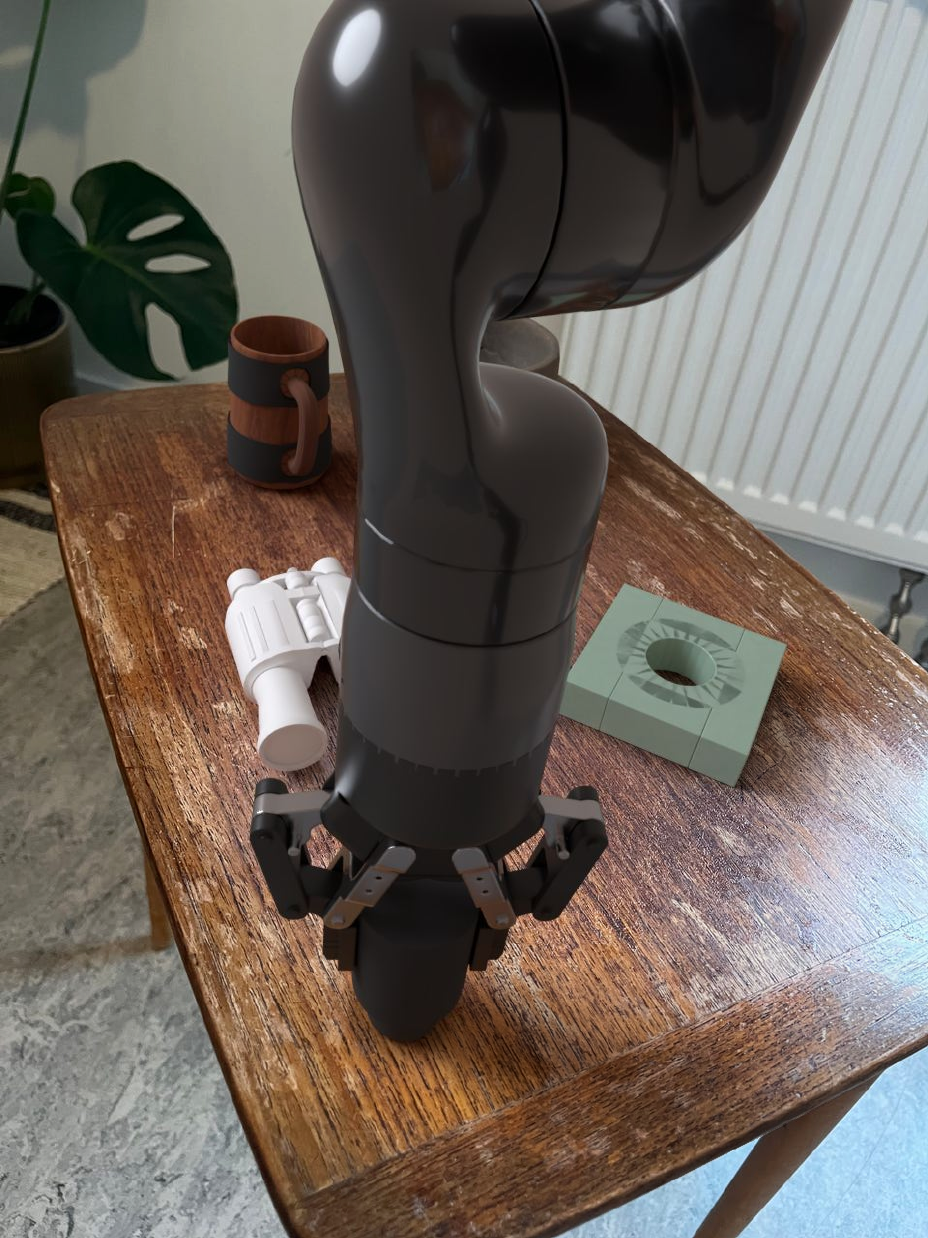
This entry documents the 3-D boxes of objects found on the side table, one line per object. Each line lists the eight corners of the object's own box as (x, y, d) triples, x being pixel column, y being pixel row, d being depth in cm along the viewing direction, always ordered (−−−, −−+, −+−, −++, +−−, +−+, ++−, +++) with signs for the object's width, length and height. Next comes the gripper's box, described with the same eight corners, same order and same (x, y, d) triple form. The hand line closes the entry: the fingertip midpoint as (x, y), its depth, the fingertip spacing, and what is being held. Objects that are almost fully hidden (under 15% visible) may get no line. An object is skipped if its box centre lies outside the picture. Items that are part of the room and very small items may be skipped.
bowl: (470, 376, 99) (482, 280, 92) (583, 459, 89) (605, 357, 82) (321, 408, 90) (324, 305, 84) (428, 504, 80) (440, 394, 73)
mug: (258, 523, 75) (255, 386, 67) (215, 447, 83) (208, 316, 75) (361, 505, 78) (368, 373, 71) (310, 433, 86) (312, 307, 79)
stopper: (476, 986, 47) (501, 874, 41) (426, 1079, 43) (446, 971, 38) (383, 938, 49) (395, 824, 43) (328, 1025, 45) (333, 913, 39)
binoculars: (260, 783, 56) (258, 727, 53) (210, 610, 67) (206, 555, 64) (430, 747, 59) (437, 693, 56) (356, 589, 70) (359, 536, 67)
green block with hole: (773, 675, 68) (787, 644, 66) (734, 788, 60) (748, 755, 58) (615, 614, 71) (624, 582, 70) (556, 713, 63) (564, 679, 61)
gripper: (219, 758, 29) (239, 1036, 39) (684, 769, 30) (581, 1033, 41) (245, 599, 34) (256, 880, 45) (635, 616, 36) (556, 883, 47)
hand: (412, 952), depth 43 cm, fingers closed on stopper, 5 cm apart
